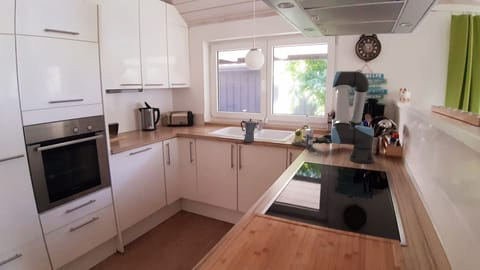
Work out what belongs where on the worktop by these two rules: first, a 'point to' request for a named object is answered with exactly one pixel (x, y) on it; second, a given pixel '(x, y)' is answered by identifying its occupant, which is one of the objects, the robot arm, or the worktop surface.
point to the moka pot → (249, 130)
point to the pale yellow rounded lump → (298, 138)
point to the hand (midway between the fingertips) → (309, 142)
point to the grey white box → (309, 137)
